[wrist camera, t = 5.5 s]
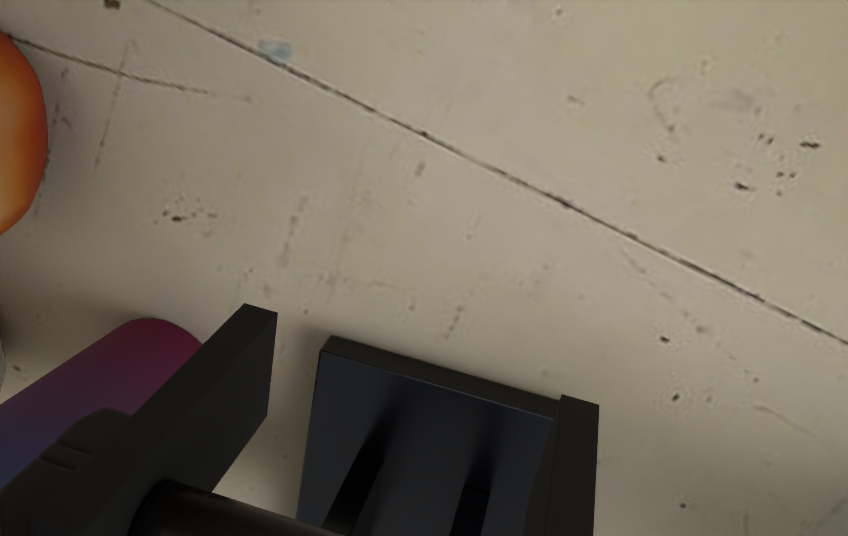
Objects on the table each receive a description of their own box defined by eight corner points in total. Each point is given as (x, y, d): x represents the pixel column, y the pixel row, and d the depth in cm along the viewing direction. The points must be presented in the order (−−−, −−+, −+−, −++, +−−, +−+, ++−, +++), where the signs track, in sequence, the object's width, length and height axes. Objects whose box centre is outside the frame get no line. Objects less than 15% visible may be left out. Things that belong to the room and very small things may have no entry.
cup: (61, 303, 30) (-400, 606, 16) (213, 289, 28) (-169, 619, 14) (120, 448, 32) (-239, 815, 19) (263, 444, 30) (-23, 851, 17)
